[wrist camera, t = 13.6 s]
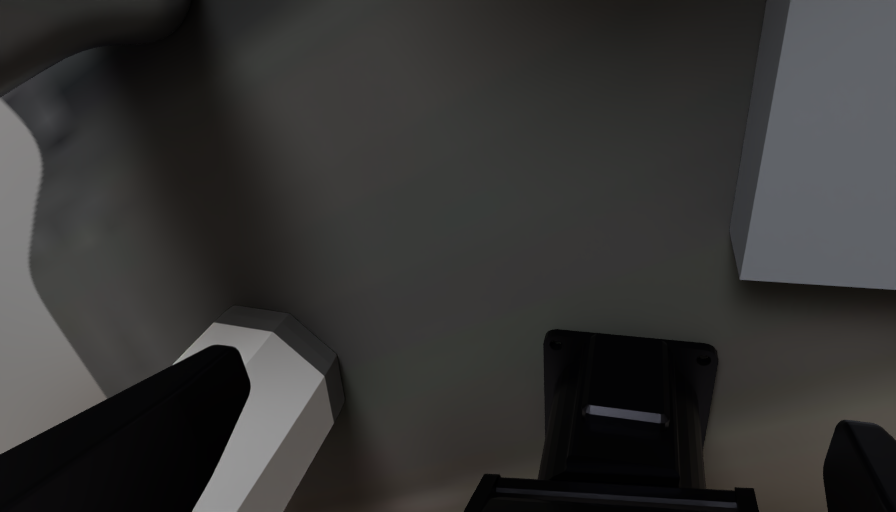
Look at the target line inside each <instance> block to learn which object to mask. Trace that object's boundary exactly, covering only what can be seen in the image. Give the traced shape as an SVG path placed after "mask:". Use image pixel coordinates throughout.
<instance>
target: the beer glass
mask: <svg viewBox="0 0 896 512" xmlns="http://www.w3.org/2000/svg"><path fill="white" fill-rule="evenodd" d="M190 4H191V0H0V97H2V96H4V95H5V94H7V93H9V92H10V91H12V90H13V89H15V88H17V87H18V86H20V85H22V84H23V83H25V82H26V81H28V80H30V79H31V78H33V77H34V76H36V75H38V74H39V73H41V72H43V71H44V70H46V69H48V68H49V67H51V66H53V65H55V64H56V63H58V62H60V61H62V60H63V59H65V58H68V57H70V56H72V55H75V54H77V53H80V52H82V51H86V50H89V49H93V48H97V47H104V46H118V45H136V44H146V43H151V42H156V41H159V40H161V39H163V38H165V37H167V36H168V35H170V34H171V33H173V32H174V31H175V30H176V29H177V28H178V27H179V26H180V24H181V23H182V22H183V20H184V18H185V17H186V15H187V12H188V10H189V7H190Z"/></svg>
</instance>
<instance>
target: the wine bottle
mask: <svg viewBox="0 0 896 512" xmlns="http://www.w3.org/2000/svg"><path fill="white" fill-rule="evenodd" d="M217 344H218V345H226V346H233V347H236V348H237V349H238V350H239V352H240V354H241V357H242V360H243V362H244V365H245V368H246V371H247V374H248V376H249V379H250V383H251V389H250V394H249V397H248V400H247V402H246V404H245V406H244V408H243V411H242V413H241V415H240V417H239V419H238V421H237V424H236V426H235V428H234V430H233V432H232V435H231V437H230V439H229V441H228V443H227V446H226V448H225V450H224V452H223V454H222V457H221V459H220V461H219V463H218V465H217V467H216V469H215V471H214V473H213V475H212V477H211V479H210V481H209V483H208V485H207V486H206V488H205V490H204V492H203V493H202V495H201V497H200V499H199V500H198V502H197V504H196V506H195V507H194V509H193V511H192V512H283V511H284V509H285V508H286V506H287V504H288V502H289V501H290V499H291V497H292V495H293V494H294V492H295V490H296V488H297V487H298V485H299V483H300V481H301V480H302V478H303V476H304V475H305V473H306V471H307V469H308V468H309V466H310V464H311V462H312V461H313V459H314V457H315V455H316V454H317V452H318V450H319V448H320V447H321V445H322V443H323V441H324V440H325V438H326V436H327V435H328V433H329V431H330V429H331V428H332V426H333V424H334V422H335V420H336V419H337V417H338V415H339V413H340V411H341V408H342V406H343V403H344V401H345V397H344V392H343V386H342V381H341V376H340V370H339V365H338V359H337V354H335V353H334V352H333V351H332V350H331V349H330V348H329V347H327V346H326V345H325V344H324V343H323V342H322V341H320V340H319V339H318V338H317V337H316V336H315V335H314V334H312V333H311V332H310V331H309V330H308V329H307V328H306V327H304V326H303V325H302V324H301V323H300V322H299V321H297V320H296V319H295V318H294V317H293V316H292V315H291V314H289V313H284V312H277V311H270V310H264V309H257V308H251V307H244V306H238V305H233V306H232V307H230V308H229V309H228V310H226V311H225V312H224V313H223V314H222V315H221V316H220V317H219V318H218V319H217V320H216V321H215V322H214V323H213V324H212V325H211V326H210V327H209V328H208V329H207V330H206V331H205V332H204V333H203V334H202V335H201V336H200V337H199V338H198V339H197V340H196V341H195V342H194V343H193V344H192V345H191V346H190V347H189V348H188V349H187V350H186V351H185V352H184V353H183V354H182V355H181V357H180V358H179V359H178V360H177V361H176V362H175V363H174V364H176V363H178V362H180V361H182V360H184V359H186V358H187V357H189V356H191V355H193V354H195V353H197V352H199V351H201V350H203V349H205V348H207V347H209V346H211V345H217ZM174 364H173V365H174Z"/></svg>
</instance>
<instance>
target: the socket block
mask: <svg viewBox="0 0 896 512" xmlns="http://www.w3.org/2000/svg"><path fill="white" fill-rule="evenodd" d="M729 233H730V237H731V242H732V246H733V251H734V255H735V260H736V264H737V269H738V274H739V278H740V280H752V281H768V282H783V283H798V284H813V285H829V286H844V287H859V288H874V289H890V290H896V0H767V1H766V7H765V13H764V19H763V25H762V31H761V37H760V44H759V50H758V56H757V62H756V68H755V74H754V81H753V87H752V93H751V99H750V105H749V111H748V117H747V124H746V130H745V136H744V142H743V148H742V154H741V161H740V167H739V173H738V179H737V185H736V191H735V198H734V204H733V210H732V216H731V222H730V228H729Z"/></svg>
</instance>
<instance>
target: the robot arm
mask: <svg viewBox="0 0 896 512" xmlns="http://www.w3.org/2000/svg"><path fill="white" fill-rule="evenodd" d="M554 340H556V341H559V342H561V344H555V343H553V342H552V341H554ZM543 345H544V392H545V443H544V448H543V454H542V459H541V465H540V470H539V475H538V479H520V478H502V477H501V476H500V475H499V474H484V475H483V477H482V479H481V481H480V483H479V485H478V486H477V488H476V490H475V492H474V493H473V495H472V497H471V499H470V501H469V503H468V504H467V506H466V508H465V510H464V512H759V510H758V505H757V501H756V496H755V492H754V488H736V487H735V491H732V490H714V489H706V484H705V473H704V462H703V446H704V440H705V435H706V429H707V423H708V417H709V412H710V406H711V400H712V394H713V389H714V383H715V377H716V371H717V366H718V356H717V351H716V349H715V348H714V347H713V346H711V345H709V344H705V343H696V342H685V341H675V340H664V339H654V338H643V337H632V336H622V335H611V334H601V333H590V332H579V331H569V330H558V329H555V330H550V331H548V332H547V333H546V335H545V340H544V344H543ZM701 355H706V356H708V358H705V359H701V358H698V357H699V356H701ZM250 389H251V383H250V379H249V376H248V374H247V371H246V368H245V365H244V362H243V360H242V357H241V354H240V352H239V350H238V349H237V348H236V347H233V346H226V345H218V344H217V345H211V346H209V347H207V348H205V349H203V350H201V351H199V352H197V353H195V354H193V355H191V356H189V357H187V358H186V359H184V360H182V361H180V362H178V363H176V364H174V365H172V366H170V367H168V368H166V369H164V370H162V371H160V372H158V373H157V374H155V375H153V376H151V377H149V378H147V379H145V380H143V381H141V382H139V383H137V384H135V385H133V386H131V387H130V388H128V389H126V390H124V391H122V392H120V393H118V394H116V395H114V396H112V397H110V398H108V399H106V400H105V401H102V402H101V403H99V404H97V405H95V406H93V407H91V408H89V409H87V410H85V411H83V412H81V413H79V414H78V415H76V416H74V417H72V418H70V419H68V420H66V421H64V422H62V423H60V424H58V425H56V426H54V427H52V428H50V429H48V430H47V431H45V432H43V433H41V434H39V435H37V436H35V437H33V438H31V439H29V440H27V441H25V442H23V443H22V444H19V445H18V446H16V447H14V448H12V449H10V450H8V451H6V452H4V453H2V454H0V512H192V511H193V509H194V507H195V506H196V504H197V502H198V500H199V499H200V497H201V495H202V493H203V492H204V490H205V488H206V486H207V485H208V483H209V481H210V479H211V477H212V475H213V473H214V471H215V469H216V467H217V465H218V463H219V461H220V459H221V457H222V454H223V452H224V450H225V448H226V446H227V443H228V441H229V439H230V437H231V435H232V432H233V430H234V428H235V426H236V424H237V421H238V419H239V417H240V415H241V413H242V411H243V408H244V406H245V404H246V402H247V400H248V397H249V394H250ZM823 479H824V487H825V494H826V500H827V507H828V512H896V440H895V439H894V438H893V437H892V436H891V435H889V434H888V433H887V432H886V431H885V430H884V429H883V428H882V427H880V426H879V425H877V424H874V423H868V422H860V421H852V420H842V421H840V422H839V423H838V424H837V426H836V428H835V431H834V434H833V437H832V440H831V443H830V446H829V449H828V452H827V455H826V458H825V462H824V467H823Z"/></svg>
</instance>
